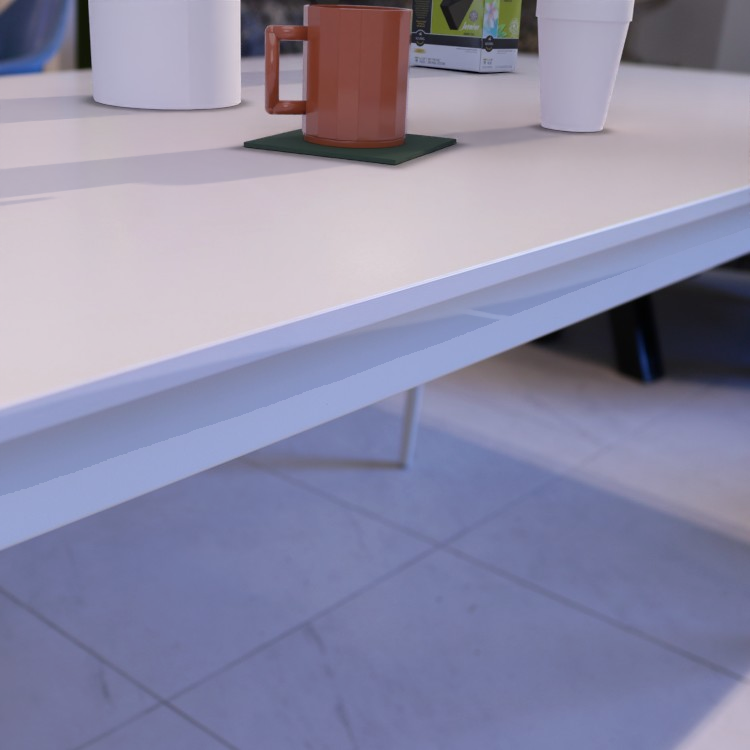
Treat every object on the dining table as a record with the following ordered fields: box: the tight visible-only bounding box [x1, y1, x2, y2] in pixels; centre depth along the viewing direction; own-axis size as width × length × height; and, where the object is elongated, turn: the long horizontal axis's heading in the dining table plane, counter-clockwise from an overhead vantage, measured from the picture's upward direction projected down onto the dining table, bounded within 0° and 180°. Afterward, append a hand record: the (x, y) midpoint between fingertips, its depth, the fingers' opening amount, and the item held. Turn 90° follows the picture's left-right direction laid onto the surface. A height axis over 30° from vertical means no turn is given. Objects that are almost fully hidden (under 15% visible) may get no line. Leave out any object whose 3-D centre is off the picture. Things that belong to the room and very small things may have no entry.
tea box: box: [410, 0, 523, 73], centre depth 167 cm, size 15×10×15 cm, turn 46°
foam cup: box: [535, 0, 635, 133], centre depth 106 cm, size 10×9×13 cm
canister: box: [87, 0, 242, 111], centre depth 113 cm, size 16×16×20 cm
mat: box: [243, 128, 458, 166], centre depth 92 cm, size 14×14×1 cm
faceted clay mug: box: [264, 4, 413, 148], centre depth 90 cm, size 12×9×11 cm
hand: (380, 14), depth 90 cm, fingers open, 13 cm apart
